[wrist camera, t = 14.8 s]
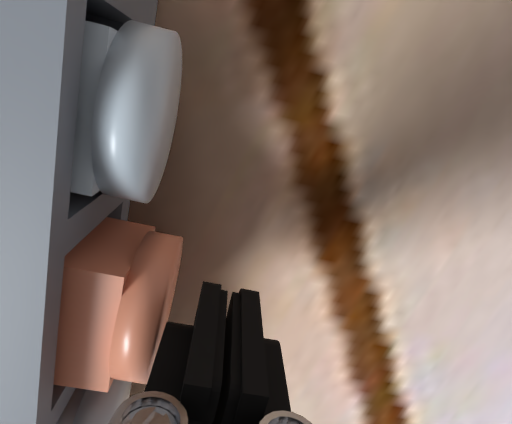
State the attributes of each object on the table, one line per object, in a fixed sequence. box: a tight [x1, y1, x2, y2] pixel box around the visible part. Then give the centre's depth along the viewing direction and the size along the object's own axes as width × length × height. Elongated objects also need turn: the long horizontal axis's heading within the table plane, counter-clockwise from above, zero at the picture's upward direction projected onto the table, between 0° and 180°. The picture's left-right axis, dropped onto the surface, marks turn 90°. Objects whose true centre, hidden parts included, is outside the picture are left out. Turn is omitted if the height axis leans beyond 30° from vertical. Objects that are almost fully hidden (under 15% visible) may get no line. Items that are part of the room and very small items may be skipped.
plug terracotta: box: [53, 217, 183, 393], centre depth 11 cm, size 9×4×4 cm, turn 77°
